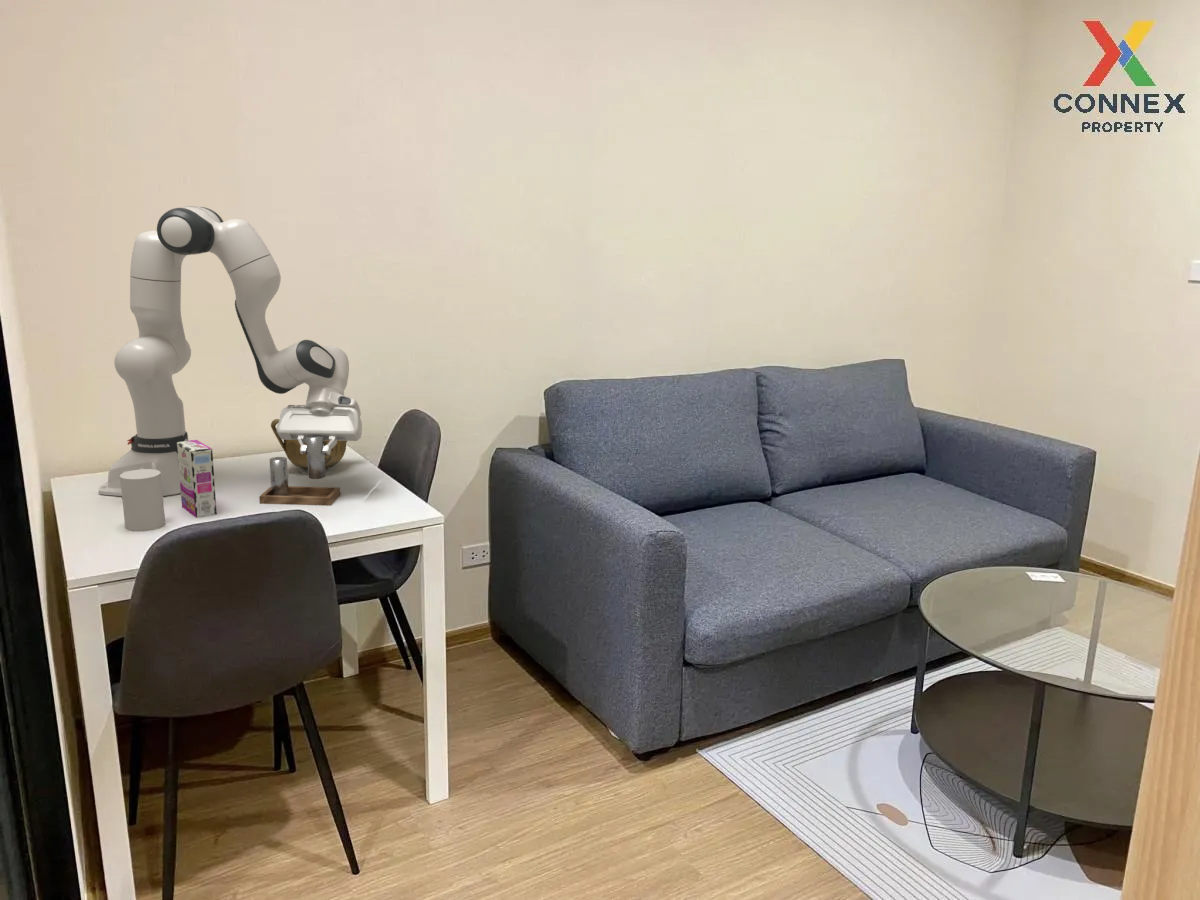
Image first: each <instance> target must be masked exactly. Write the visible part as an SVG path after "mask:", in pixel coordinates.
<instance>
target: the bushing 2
mask: <svg viewBox="0 0 1200 900" xmlns="http://www.w3.org/2000/svg"><path fill="white" fill-rule="evenodd" d="M323 446H324V443H323V436H321V435H311V436H307V437H306V447H307V462H308V471H307V474H308V475H307V477H308V478H309V479H311V480H320V479H321V480H322V479H324V478H326V470H325V459H324V455H323V453H322V449H323Z"/></svg>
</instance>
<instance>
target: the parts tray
mask: <svg viewBox="0 0 1200 900" xmlns="http://www.w3.org/2000/svg"><path fill="white" fill-rule="evenodd" d="M288 488H289V496H275V495H272V492H271V486H270V487H269V488H268V489H266V490H265V491H264V492H263V493H262V494H260V495H259V496H258V497H259V498H258V499H259V504H261V505H262V504H263V505H291V506H292V505H295V506H298V505H299V506H326V507H327V506H328V507H329V506H331V505H332V504H333V503H334V502H335V501H336V500H337V499H338V498H339V497H340V496H341V487H336V486H335V487H333V486H332V487H331V486H297V485H292V486H291V485H288Z"/></svg>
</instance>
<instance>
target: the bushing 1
mask: <svg viewBox="0 0 1200 900" xmlns="http://www.w3.org/2000/svg"><path fill="white" fill-rule="evenodd" d="M269 472H270V487H271V492H272V495H275V496H289V488H288V486H289V474H288V473H289V472H288V457H285V456H276V457H275V456H274V457H270V458H269Z"/></svg>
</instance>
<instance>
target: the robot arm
mask: <svg viewBox="0 0 1200 900" xmlns="http://www.w3.org/2000/svg"><path fill="white" fill-rule="evenodd" d="M156 225H157V226H156V230H147V231H144V232H140V233H139V234H138V235H137V236H136V237H135V240H134V243H133V248H132V253H131V259H130V271H129V272H130V273H129V274H130V276H129V279H130V280H129V307H130V311H131V313H132V314H133V315H134V317H135V320H136V325H137V329H138V338H135V339H131V340H129V341H127V342H126V343H125V344H124V345H123V346H122V347H121V348H119V350H118V351H117V352H116V354H115V356H114V360H113V361H114V368H115V370H116V373H117V374H118V375H119V376H120V378H121V379H122V380H123V381H124V382H125V384H126V386H127V389H128V392H129V395H130V398H131V400H132V404H133V411H134V418H135V419H134V420H135V428H136V433H135V435H134V436H131V437H130V438H129V439H127V440H126V442H127V445H128V446H129V445H131V447H130V450H128V452H126V453H125V454H124V455H123V456H122V457H120V458H119V459H118V460H116V461H115V462H114V463H112V464H111V466H110V468H109V469H108V475H107V482H105V483H103V484H102V485H100V487H99V488H98V494H99V495H105V496H117V497H122V492H121V483H120V475H121V474H122V473H124V472H128V471H132V470H139V469H154V470H158V471H160V472H161V483H162V493H163V497H164V496H172V495H178V494H181V488H180V475H179V463H178V450H177V442H183V441H189V435H188V432H187V431H186V422H185V411H184V402H183V400H182V399H181V397H179V395H178V393H177V391H176V387H175V385H174V381H173V375H175V374H178V373H179V372H180V371H182V370H183V369H184V368H185V367H186V365H187V364H188V363H189V361H190V359H191V356H192V349H191V345H190V343H189V342H188V340H187V339H186V336H185V335H186V334H185V329H184V324H183V320H182V311H181V309H182V307H181V301H182V300H181V299H182V293H181V292H182V264H183V261H184V259H185V258H186V257H187V256H191V255H193V256H194V255H201V254H205V253H211V254H213V255H215V256H216V257H217V258H218V259H219V260H220V262H221V263H222V265H223V267H224V268H225V271H226V273H227V275H228V276H229V278H230V281H231V283H232V285H233V289H234V294H235V300H234V306H235V307H234V308H235V311H236V315H237V318H238V320H239V323H240V326H241V328H242V331H243V333H244V336H245V338H246V341H247V343H248V346H249V348H250V351H251V353H252V357H253V359H254V362H255V365H256V370H257V374H258V377H259V380H260V382H261V383H262V385H263V386H264V387H265V388H267V390H269V391H271V392H272V393H275V394H279V395H282V394H286V393H288V392H289V391H292V390H293V389H295V388H297V387H299V386H300V385H302V384H306V385H308V387H309V389H308V392H307V397H306V400H305V401H306V402H305V404H297V405H294V404H289V405H288V406H285V407H283V408H282V409H281V410H280V411H281V412H280V415H279V417H280V418H279V419H280V420H279V422H278V423H277V424H276V431H277V433H278V435H279V437H280V438H281V439H282V441H284V440H298V441H299V443H300V445H301V448H300V453H301V454H307V447H306V445H304V444H303V443H306V437H307V436H311V435H321V436H323V440H330V442H329V443H328V444H327V446H323V449H322V453H323V455H330V451H331V449H332V448H333V447H334V446H335V445H336V444H337V441H347V442H348V441H349V442H357V441H359V440H360V439H361V438H362V434H363V433H362V432H363V421H362V418H361V414H362V413H361V408H360V406H359V404H358V402H357V400H356V398H353V397H350V396H346V395H345V390H346V388H347V385H348V382H349V375H350V374H349V373H350V361H349V358H348V355H347V353H346V352H345V351H344V350H342V349H340V348H339V347H337V346H334V345H333V346H332V345H326V346H322V345H320V344H319V343H317V342H315V341H313V340H310V339H303V340H300V341H298V342H295V343H293V344H291V345H289V346H288V347H285V348H283V349H281V350H278V348H277V347H276V344H275V341H274V340H273V337H272V334H271V332H270V329H269V327H268V324H267V322H266V312H267V308H268V306H269V304H270V303H271V301H272V299H274V297H275V296H276V295H277V292H278V291H279V288H280V285H281V280H282V279H281V272H280V269H279V267H278V265H277V262H276V261H275V259H274V257H273V255H272V254H271V252H270V250H269V249H268V246H267V245H266V244H265V242H264V240H263V238H262V237H261V236H260V235H259V233H258V232H257V230H256V229H255V228H254V227H253V226H252V224H251V223H250V222H249V221H247V220H246V219H241V218H231V219H227V220H225V221H224V219H223V218H222V217H221V216H220V214H218V213H217V212H216V211H214V210H213V209H210V208H209V207H208V208H207V207H205V206H195V205H193V206H192V205H188V206H187V205H186V206H182V207H174V208H171V209H169V210H168V211H166V212H165V213H163V214H162V215H161V216H160V218H159V220H158V222H157V224H156Z"/></svg>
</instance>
